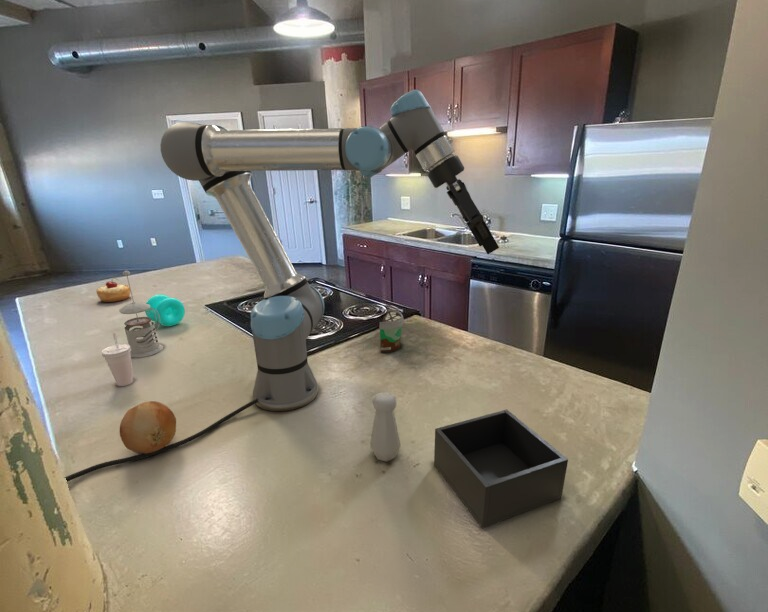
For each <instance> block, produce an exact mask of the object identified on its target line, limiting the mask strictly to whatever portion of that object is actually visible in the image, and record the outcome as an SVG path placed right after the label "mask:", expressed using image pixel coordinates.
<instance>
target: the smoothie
mask: <svg viewBox="0 0 768 612" xmlns="http://www.w3.org/2000/svg"><path fill="white" fill-rule="evenodd" d="M112 336H113V340H114V345H110V346H108V347H107V346H106V347H105V348H103V349H102V350H101V357H103V358H104V359H105V362H106V364H107V366H108V368H109V371H110V372H111V373H110V374H111V375H112V377H113V379H114V381H115V384H116V385H117V386H118V387H124V386H128V385H131V384H132V383H133V382H134V374H133V365H132V357H131V354H130V351H131V347H130V345H129V344H127V343H119V341H118V336H117V335H116V332H115V331H112Z"/></svg>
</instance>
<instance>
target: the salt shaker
mask: <svg viewBox="0 0 768 612" xmlns="http://www.w3.org/2000/svg"><path fill="white" fill-rule="evenodd" d="M372 407H373V409H374V410H375V412H374V419H373V423H372V429H371V436H370V441H369V443H370V444H369V445H370V446H369V447H370V450H371V452H372V453H373V454H374V456H375V457H376V460H378V461H382V462H389V461H391V460H394V459H396V457H397V454H398V452H399V450H400V449H401V440H400V435H399V430H398V425H397V420H396V416H395V411H394V410H395V409H396V407H397V400H396V396H395V395H394V394H392V393H391V392H385V391H383V392H379V393H377V394H375V395H374V396H373V398H372Z"/></svg>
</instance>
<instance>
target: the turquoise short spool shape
mask: <svg viewBox="0 0 768 612" xmlns="http://www.w3.org/2000/svg"><path fill="white" fill-rule="evenodd" d="M145 303H146V304H149V305H150V306H151V307H150V308H152V310H153V309H155V310H156V311H157V312H158V313H159V315H158V313H157V312H156V311H155V310H153V311H154V313H155V314H154V313H153V311H152V310H150V313H147V312H149V309H148V310H146V311H147V312H146V311H144V314H145V316H146V317H150V318H151V319H152V320H151V322H153V323H155V315H156V323H159V316H160V325H162V326H165V327H174V326H176V325H178V324H179V323H180V322H182V320H183V319H184V317H185V313H186V309H185V306H184V304H183V302H182V301H181V300H179V299H178V298H175V297H170V296H168V295H166V294H155V295H153V296H151V297H150V298H149V299H148V300H147V302H145Z"/></svg>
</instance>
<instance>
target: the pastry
mask: <svg viewBox="0 0 768 612" xmlns="http://www.w3.org/2000/svg"><path fill="white" fill-rule="evenodd" d="M113 279H114V280H117V281H119V279H118V278H117V277H112V278H111V281H106V283H105V285H104V286H101V287H98V288H97V289H96V292H95V293H96V296H97V297H98V299H99V300H100V301H101V302H105V303H113V302H115V303H116V302H120V301H124V300H127V299H128V298H129V297H130V296H131V291H130V288H131V286H130V287H129V284H128V285H127V284H123V283H121V284H120V283H117V282H115V281H113Z"/></svg>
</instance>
